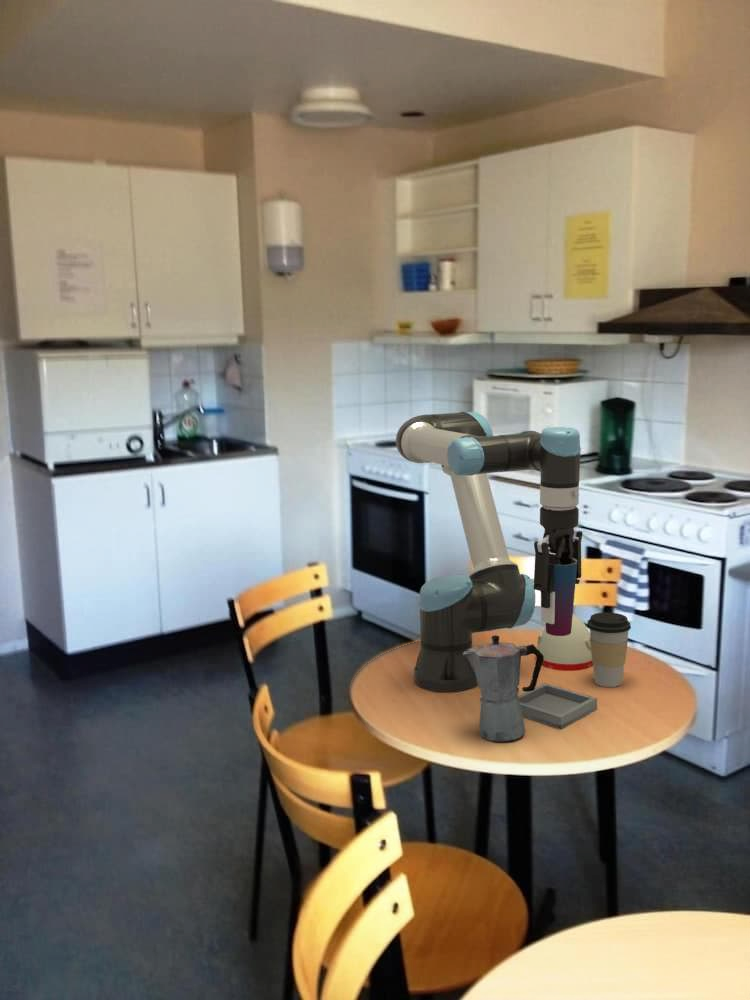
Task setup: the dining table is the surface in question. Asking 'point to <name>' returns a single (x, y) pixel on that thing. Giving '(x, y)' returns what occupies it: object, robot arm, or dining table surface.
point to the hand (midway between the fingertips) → (557, 617)
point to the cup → (563, 598)
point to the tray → (556, 705)
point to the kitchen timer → (567, 648)
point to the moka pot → (501, 687)
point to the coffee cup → (608, 647)
